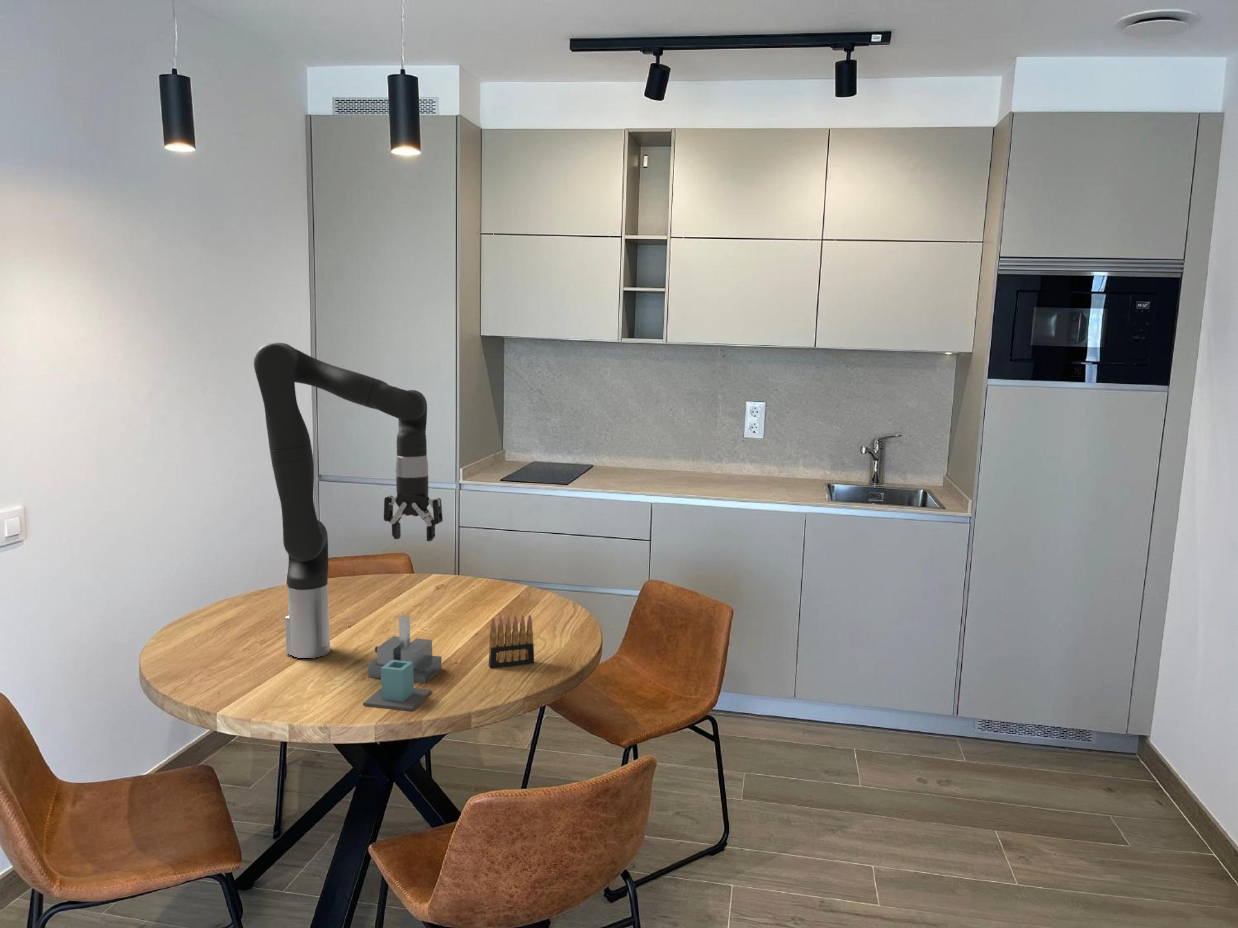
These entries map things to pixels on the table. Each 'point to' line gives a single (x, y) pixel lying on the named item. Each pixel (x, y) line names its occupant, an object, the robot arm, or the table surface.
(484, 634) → the table surface
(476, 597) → the table surface
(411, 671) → the sleeve
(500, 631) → the ammunition clip
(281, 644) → the table surface
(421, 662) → the vise
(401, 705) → the mat
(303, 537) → the robot arm
